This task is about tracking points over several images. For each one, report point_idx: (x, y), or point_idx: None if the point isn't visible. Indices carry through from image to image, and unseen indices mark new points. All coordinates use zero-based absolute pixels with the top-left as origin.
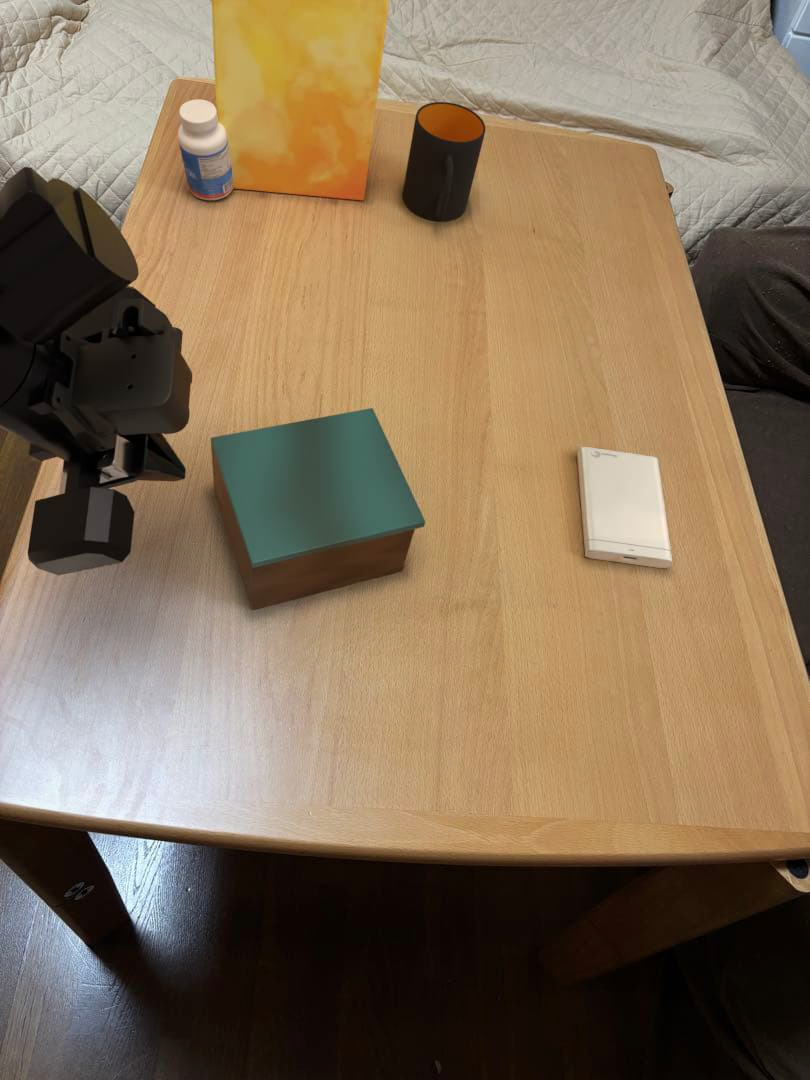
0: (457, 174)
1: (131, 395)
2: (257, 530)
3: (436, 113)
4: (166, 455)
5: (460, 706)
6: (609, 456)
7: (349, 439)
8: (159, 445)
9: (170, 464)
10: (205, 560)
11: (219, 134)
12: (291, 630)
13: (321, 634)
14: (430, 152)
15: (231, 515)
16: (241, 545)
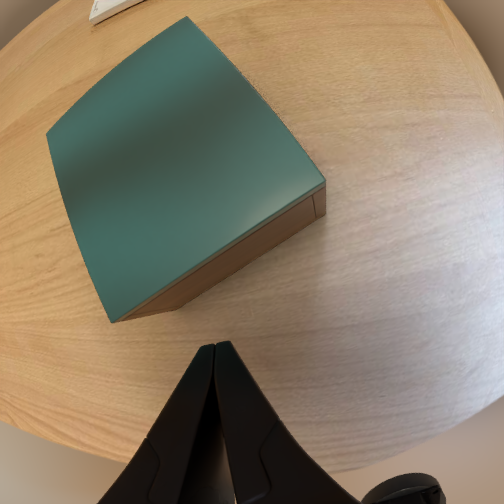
0: None
1: None
2: (258, 192)
3: None
4: (202, 413)
5: (352, 14)
6: (97, 4)
7: (81, 134)
8: (186, 452)
9: (224, 392)
10: (272, 292)
11: None
12: (337, 162)
13: (330, 129)
14: None
15: (224, 260)
16: (274, 226)
